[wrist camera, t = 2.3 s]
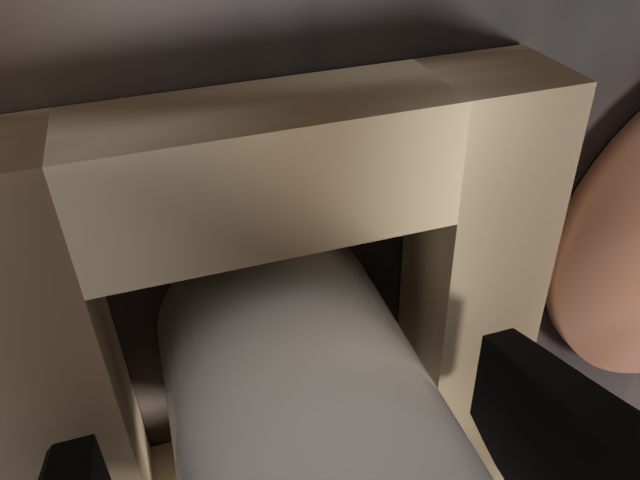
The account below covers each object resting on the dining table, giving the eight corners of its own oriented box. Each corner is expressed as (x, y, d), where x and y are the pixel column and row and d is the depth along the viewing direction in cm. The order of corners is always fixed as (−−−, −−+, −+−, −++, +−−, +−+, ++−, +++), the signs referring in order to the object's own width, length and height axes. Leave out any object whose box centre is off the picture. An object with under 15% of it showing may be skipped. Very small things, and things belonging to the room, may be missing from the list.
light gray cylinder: (116, 367, 12) (138, 827, 7) (233, 189, 11) (386, 579, 5) (293, 413, 14) (421, 781, 9) (408, 272, 13) (642, 603, 8)
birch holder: (74, 528, 14) (72, 617, 13) (-109, 128, 9) (-155, 197, 7) (463, 417, 17) (503, 480, 15) (523, 44, 11) (597, 81, 9)
